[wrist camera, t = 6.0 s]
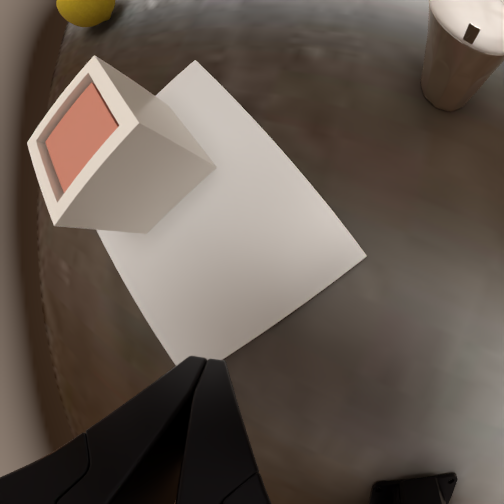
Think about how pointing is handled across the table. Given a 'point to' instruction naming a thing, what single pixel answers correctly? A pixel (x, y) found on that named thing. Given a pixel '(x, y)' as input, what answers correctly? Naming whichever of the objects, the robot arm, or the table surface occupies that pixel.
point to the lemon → (86, 11)
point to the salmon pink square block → (80, 135)
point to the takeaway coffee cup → (461, 49)
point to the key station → (196, 211)
